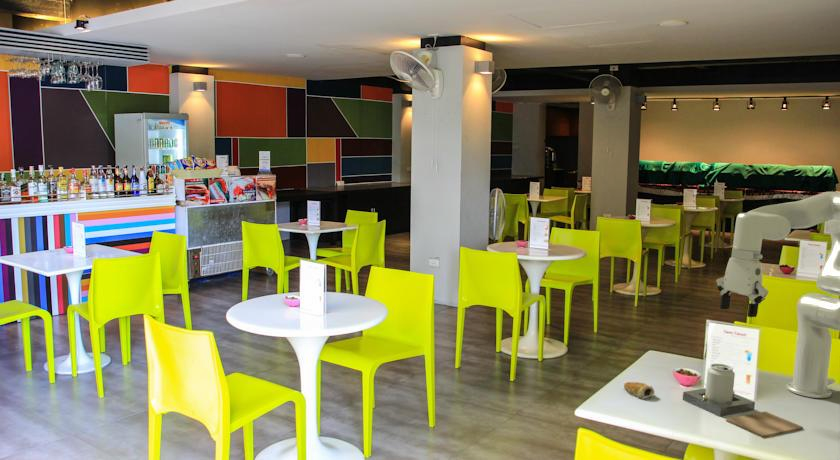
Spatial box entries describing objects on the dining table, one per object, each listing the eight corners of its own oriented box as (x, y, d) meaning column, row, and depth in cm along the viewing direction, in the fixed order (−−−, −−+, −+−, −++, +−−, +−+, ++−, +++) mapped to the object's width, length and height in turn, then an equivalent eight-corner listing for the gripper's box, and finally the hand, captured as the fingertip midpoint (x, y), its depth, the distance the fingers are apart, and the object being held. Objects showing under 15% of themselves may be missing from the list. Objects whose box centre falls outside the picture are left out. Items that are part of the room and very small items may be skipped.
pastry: (618, 390, 225) (619, 378, 225) (633, 387, 228) (634, 375, 228) (640, 400, 217) (641, 388, 216) (656, 397, 220) (657, 385, 220)
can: (734, 411, 210) (738, 371, 209) (706, 408, 212) (710, 368, 210) (728, 402, 218) (732, 363, 216) (702, 399, 219) (705, 361, 218)
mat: (765, 413, 209) (765, 411, 209) (802, 429, 199) (803, 427, 199) (726, 421, 202) (726, 419, 202) (762, 437, 192) (763, 435, 192)
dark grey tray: (715, 394, 224) (716, 383, 224) (754, 410, 212) (755, 398, 211) (682, 399, 218) (683, 388, 218) (720, 416, 206) (721, 404, 205)
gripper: (780, 260, 204) (772, 319, 206) (730, 250, 220) (722, 305, 222) (762, 260, 201) (754, 320, 203) (712, 250, 216) (705, 306, 218)
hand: (737, 312), depth 212 cm, fingers open, 9 cm apart
